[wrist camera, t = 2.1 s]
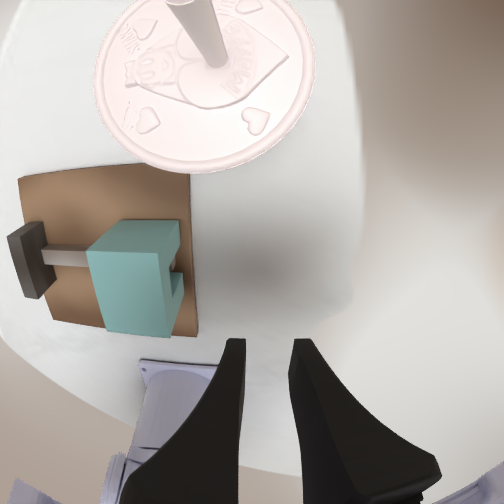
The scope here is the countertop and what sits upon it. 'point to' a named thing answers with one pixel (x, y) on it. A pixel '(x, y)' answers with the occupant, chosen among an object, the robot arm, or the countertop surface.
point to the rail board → (95, 233)
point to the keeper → (137, 277)
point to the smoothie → (203, 80)
